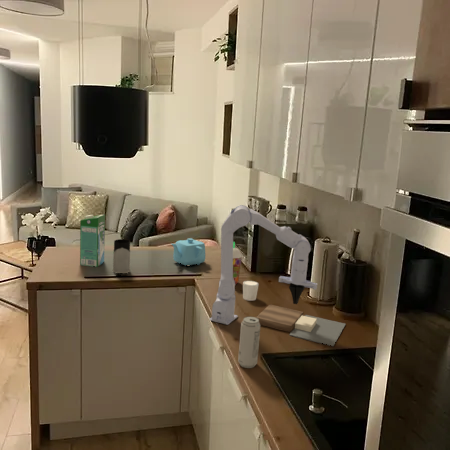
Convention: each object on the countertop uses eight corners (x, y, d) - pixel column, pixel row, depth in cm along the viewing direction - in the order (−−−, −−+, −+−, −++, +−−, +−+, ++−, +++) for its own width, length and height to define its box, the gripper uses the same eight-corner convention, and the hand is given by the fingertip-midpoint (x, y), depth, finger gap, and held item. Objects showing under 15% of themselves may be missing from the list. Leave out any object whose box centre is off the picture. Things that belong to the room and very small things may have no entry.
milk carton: (87, 260, 247) (88, 212, 242) (104, 262, 246) (105, 214, 241) (79, 265, 238) (80, 215, 233) (97, 267, 237) (98, 217, 232)
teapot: (177, 257, 263) (178, 233, 260) (207, 260, 261) (208, 236, 258) (169, 267, 246) (170, 241, 243) (200, 270, 243) (202, 244, 241)
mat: (333, 346, 168) (333, 345, 168) (289, 335, 175) (289, 334, 174) (345, 324, 188) (345, 323, 188) (305, 315, 194) (305, 314, 194)
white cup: (256, 302, 205) (257, 286, 204) (240, 299, 207) (241, 284, 205) (258, 296, 212) (259, 281, 210) (243, 294, 213) (244, 279, 212)
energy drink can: (241, 357, 155) (245, 314, 152) (259, 362, 153) (263, 318, 150) (235, 365, 150) (238, 320, 147) (253, 370, 148) (257, 325, 145)
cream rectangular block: (310, 332, 178) (310, 326, 177) (294, 328, 180) (295, 323, 180) (316, 323, 186) (316, 318, 185) (301, 320, 188) (301, 315, 188)
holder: (112, 274, 228) (112, 243, 225) (111, 265, 242) (112, 236, 239) (131, 273, 231) (131, 243, 227) (129, 265, 244) (130, 236, 241)
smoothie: (234, 287, 222) (237, 245, 218) (219, 283, 226) (221, 241, 222) (243, 282, 229) (246, 242, 225) (228, 278, 233) (231, 238, 229)
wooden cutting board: (290, 332, 177) (291, 325, 177) (255, 323, 183) (255, 317, 182) (302, 317, 192) (303, 311, 191) (269, 310, 197) (269, 304, 197)
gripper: (320, 270, 182) (316, 304, 184) (284, 263, 187) (280, 296, 190) (316, 274, 175) (312, 310, 178) (278, 267, 181) (274, 301, 184)
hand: (295, 303), depth 184 cm, fingers closed
